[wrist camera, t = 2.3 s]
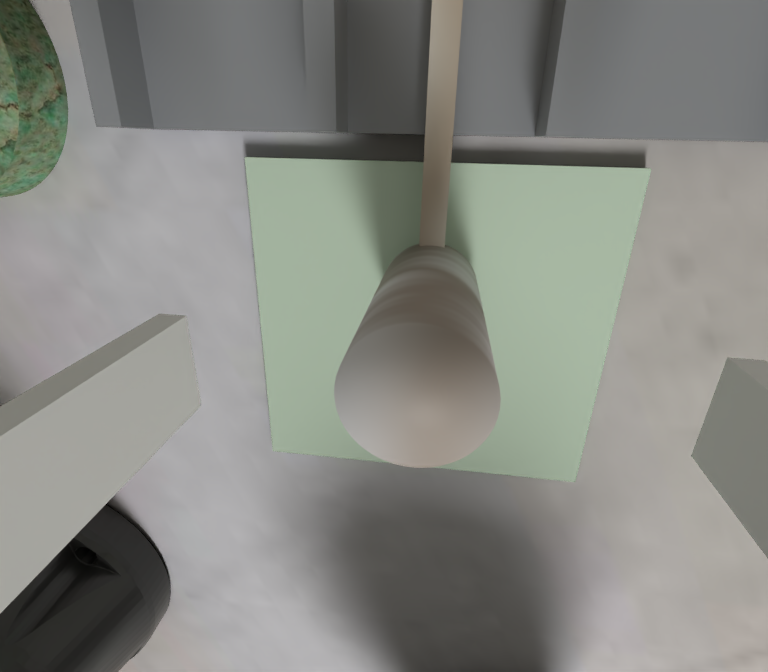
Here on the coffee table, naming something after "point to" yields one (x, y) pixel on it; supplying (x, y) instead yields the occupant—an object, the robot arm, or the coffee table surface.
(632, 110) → the tray
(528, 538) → the coffee table surface
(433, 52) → the tethered block
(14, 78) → the decorative artifact
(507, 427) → the mat
